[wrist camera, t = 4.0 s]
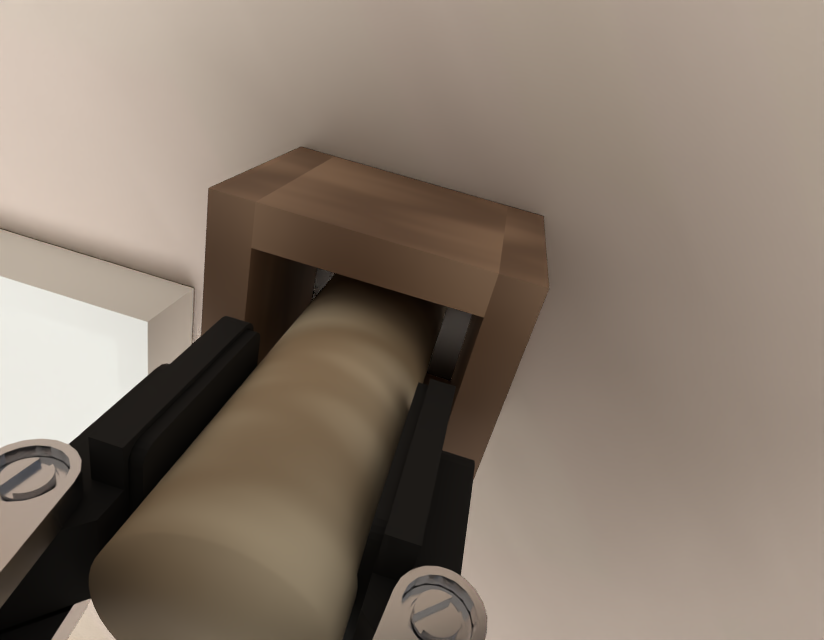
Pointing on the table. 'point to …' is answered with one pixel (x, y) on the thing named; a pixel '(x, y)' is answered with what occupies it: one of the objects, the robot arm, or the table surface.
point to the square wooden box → (380, 264)
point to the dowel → (276, 483)
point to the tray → (78, 336)
